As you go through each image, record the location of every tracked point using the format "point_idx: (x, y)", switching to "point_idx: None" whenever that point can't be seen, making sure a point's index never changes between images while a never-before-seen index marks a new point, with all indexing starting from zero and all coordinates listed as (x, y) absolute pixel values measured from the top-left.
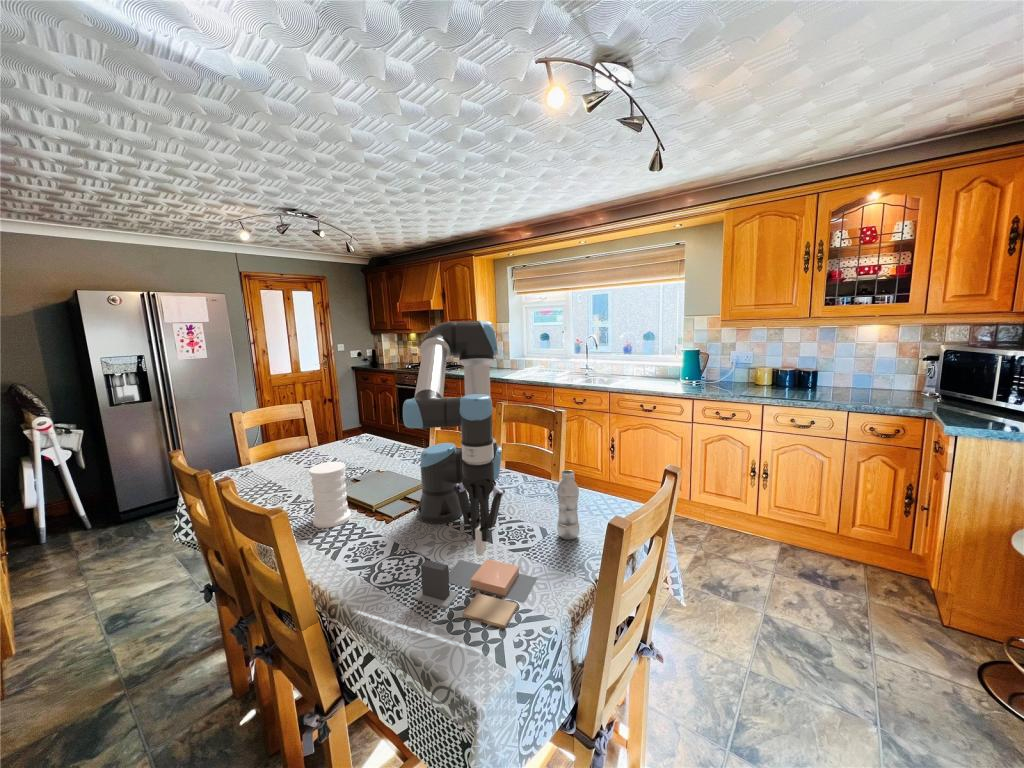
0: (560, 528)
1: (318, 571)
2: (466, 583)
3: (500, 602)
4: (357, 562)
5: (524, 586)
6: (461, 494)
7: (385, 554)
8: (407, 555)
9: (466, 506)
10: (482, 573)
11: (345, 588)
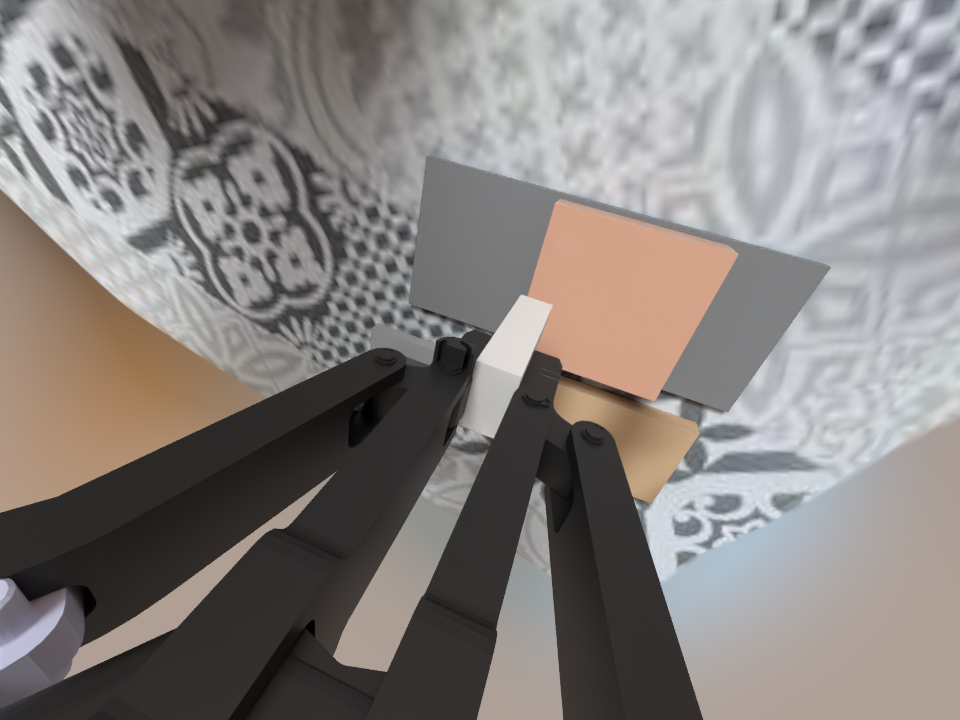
0: None
1: (89, 264)
2: (497, 314)
3: (635, 423)
4: (127, 210)
5: (742, 329)
6: (120, 621)
7: (156, 147)
8: (222, 140)
9: (290, 486)
10: (551, 316)
11: (198, 329)
